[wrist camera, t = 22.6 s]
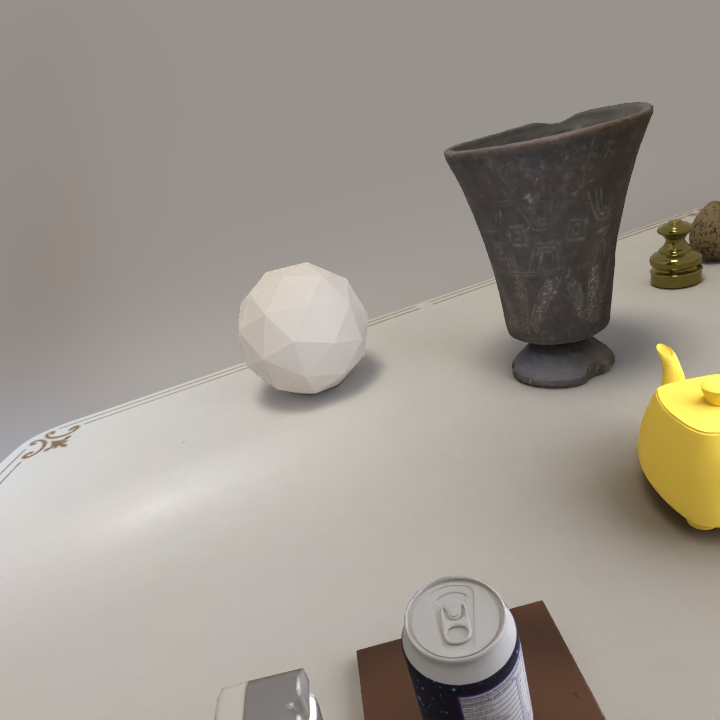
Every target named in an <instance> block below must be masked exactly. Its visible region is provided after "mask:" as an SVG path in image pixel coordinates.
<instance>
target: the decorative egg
mask: <svg viewBox="0 0 720 720" xmlns="http://www.w3.org/2000/svg"><path fill="white" fill-rule="evenodd" d="M693 226H694V228H693V230H692V231H690V234H689V242H690V245H692V247H693V248H696V249H698V250H700V251H701V252H702V254H703V258H702V259H704V260H709V261H714V260H719V259H720V202H719V201H712V202H710V203H708V204H707V205H706V206H705V207H704V208H703V209H702V210H701V211H700V212H699V214H698V215H697V216H696V218H695V219H694V221H693Z"/></svg>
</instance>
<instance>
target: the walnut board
mask: <svg viewBox="0 0 720 720" xmlns="http://www.w3.org/2000/svg"><path fill="white" fill-rule="evenodd" d="M509 610H510V612H511V613H512V615H513V617H514V618H515V621H516V623H517V627H518V632H519V638H520V643H521V649H522V655H523V660H524V666H525V672H526V677H527V683H528V689H529V695H530V700H531V706H532V712H533V717H534V720H606V718H605V716H604V715H603V713H602V711H601V709H600V707H599V705H598V703H597V702H596V700H595V698H594V696H593V694H592V692H591V690H590V688H589V687H588V685H587V683H586V681H585V679H584V677H583V675H582V673H581V672H580V670H579V668H578V666H577V664H576V662H575V660H574V658H573V657H572V655H571V653H570V651H569V649H568V647H567V645H566V644H565V642H564V640H563V638H562V636H561V634H560V632H559V630H558V629H557V627H556V625H555V623H554V621H553V619H552V617H551V615H550V614H549V612H548V610H547V608H546V606H545V604H544V602H543V601H538V602H534V603H531V604H527V605H523V606H520V607H516V608H512V609H509ZM401 639H402V638H401ZM401 639H398V640H394V641H390V642H387V643H383V644H379V645H376V646H372V647H368V648H365V649H361V650H357V660H358V668H359V677H360V685H361V694H362V702H363V711H364V719H365V720H423V718H422V715H421V711H420V708H419V705H418V701H417V698H416V694H415V691H414V688H413V684H412V681H411V677H410V674H409V671H408V667H407V664H406V660H405V657H404V654H403V650H402V641H401Z"/></svg>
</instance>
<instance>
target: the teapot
mask: <svg viewBox="0 0 720 720" xmlns="http://www.w3.org/2000/svg"><path fill="white" fill-rule="evenodd" d="M656 348H657V352H658V354H659V356H660V359H661V363H662V369H663V377H662V386H660V387H659V388H658V389H657V390H656V391H655V393H654V395H653V396H652V398H651V400H650V403H649V405H648V407H647V409H646V411H645V414H644V416H643V419H642V423H641V427H640V432H639V439H638V456H639V460H640V463H641V466H642V469H643V471H644V473H645V475H646V477H647V479H648V480H649V482H650V483H651V484H652V486H653V487H654V489H655V490H656V491H657V492H658V493H659V495H660V496H661V497H662V498H663V499H664V500H665V501H666V502H667V503H668V504H669V505H670V506H671V507H672V508H673V509H675V510H676V511H677V512H678V513H680V514H681V515H682V516H684V517H685V518H686V520H687V522H688V523H689V525H691V526H692V527H694V528H697V529H700V530H710V529H713V528H715V527H720V374H717V375H709V376H703V377H697V378H692V379H687V380H686V379H685V376H684V373H683V371H682V368H681V365H680V363H679V361H678V358H677V356H676V354H675V353H674V351H673V350H672V349H671V348H670V347H668V346H667V345H665V344H658V345H657V347H656Z"/></svg>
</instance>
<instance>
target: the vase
mask: <svg viewBox="0 0 720 720" xmlns="http://www.w3.org/2000/svg"><path fill="white" fill-rule="evenodd" d="M652 114H653V106H652V105H651V104H649V103H645V102H644V103H642V102H636V103H635V102H634V103H624V104H619V105H614V106H607V107H602V108H597V109H591V110H587V111H584V112H581V113H578V114H575V115H574V116H572V117H570V118H568V119H567V120H565V121H563V122H561V123H554V124H545V123H532V124H527V125H524V126H521V127H518V128H514V129H510V130H506V131H504V132H501V133H497V134H493V135H489V136H486V137H483V138H479V139H475V140H472V141H468V142H464V143H461V144H458V145H455V146H453V147H450V148H448V149H446V150H445V152H444V155H445V159H446V161H447V162H448V164H449V166H450V168H451V170H452V171H453V173H454V175H455V176H456V178H457V180H458V182H459V184H460V186H461V188H462V190H463V192H464V195H465V197H466V199H467V201H468V204H469V206H470V208H471V210H472V213H473V215H474V218H475V220H476V223H477V226H478V228H479V231H480V233H481V236H482V238H483V241H484V244H485V247H486V250H487V253H488V256H489V259H490V261H491V265H492V268H493V271H494V275H495V278H496V282H497V286H498V290H499V294H500V298H501V303H502V307H503V312H504V317H505V322H506V326H507V329H508V332H509V334H510V335H511V336H512V337H513V338H515V339H518V340H520V341H523V342H527V343H529V344H528V345H527V346H526V347H525V348H524V349H523V350H522V351H521V352H520V353H519V354H518V355H517V356H516V357H515V359H514V360H513V364H512V368H513V369H514V370H513V375H514V376H515V377H516V378H517V379H518V380H519V381H521V382H524V383H527V384H532V385H535V386H540V387H570V386H576V385H580V384H583V383H585V382H586V381H587V380H588V379H590V378H591V377H593V376H596V375H598V374H601V373H604V372H606V371H608V370H609V369H610V365H611V364H612V363H613V362H614V361H615V357H614V354H613V352H612V351H611V349H610V348H609V347H608V346H606V345H605V344H603V343H602V342H600V341H598V340H597V339H595V338H594V337H592V336H594V335H595V334H597V333H598V332H600V331H601V330H603V329H604V328H605V327H606V326H607V325H608V323H609V320H610V310H611V300H612V289H613V277H614V267H615V251H616V243H617V236H618V231H619V227H620V222H621V217H622V212H623V208H624V203H625V198H626V194H627V190H628V186H629V182H630V178H631V174H632V171H633V168H634V164H635V160H636V156H637V153H638V150H639V147H640V144H641V142H642V139H643V137H644V134H645V131H646V128H647V125H648V123H649V121H650V118H651V116H652Z"/></svg>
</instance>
